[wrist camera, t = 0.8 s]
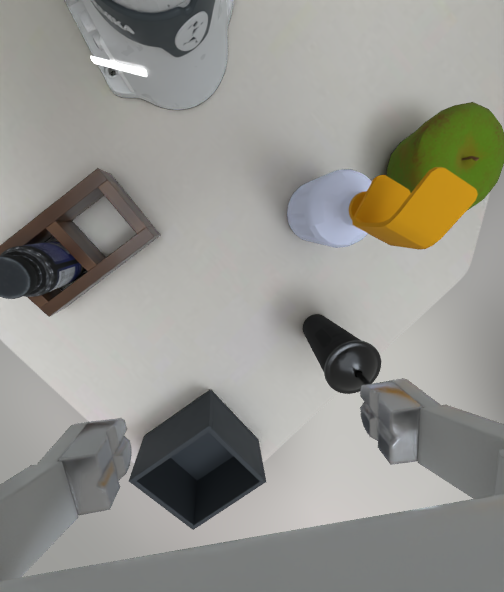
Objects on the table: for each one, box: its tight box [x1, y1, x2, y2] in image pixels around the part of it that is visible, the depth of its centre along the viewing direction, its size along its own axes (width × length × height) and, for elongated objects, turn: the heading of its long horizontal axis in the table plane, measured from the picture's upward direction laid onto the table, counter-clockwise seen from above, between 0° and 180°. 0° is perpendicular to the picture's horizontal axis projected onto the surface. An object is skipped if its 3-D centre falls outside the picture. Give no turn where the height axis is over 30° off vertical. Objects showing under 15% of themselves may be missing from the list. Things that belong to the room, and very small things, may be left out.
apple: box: [387, 102, 504, 210], centre depth 35 cm, size 12×12×11 cm
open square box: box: [129, 390, 266, 529], centre depth 46 cm, size 16×16×9 cm
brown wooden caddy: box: [0, 168, 160, 317], centre depth 36 cm, size 10×19×4 cm, turn 125°
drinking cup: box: [303, 314, 381, 394], centre depth 37 cm, size 8×8×20 cm
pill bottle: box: [0, 241, 85, 299], centre depth 32 cm, size 6×6×11 cm
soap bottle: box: [287, 167, 478, 249], centre depth 29 cm, size 9×9×25 cm
